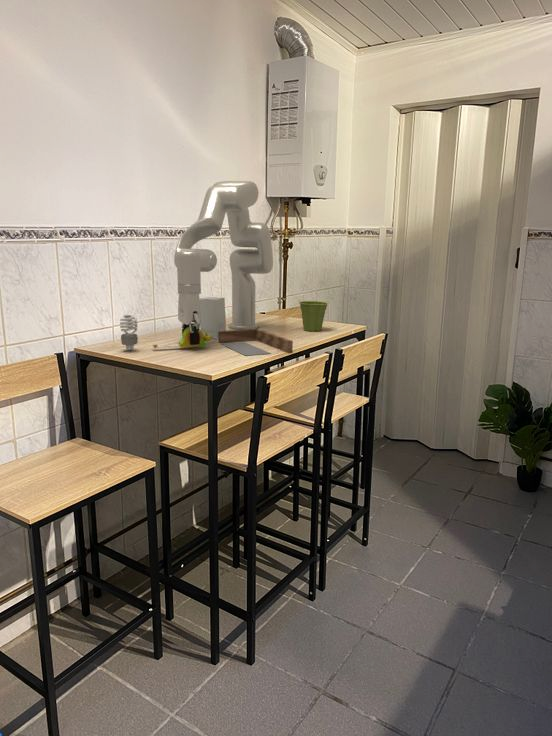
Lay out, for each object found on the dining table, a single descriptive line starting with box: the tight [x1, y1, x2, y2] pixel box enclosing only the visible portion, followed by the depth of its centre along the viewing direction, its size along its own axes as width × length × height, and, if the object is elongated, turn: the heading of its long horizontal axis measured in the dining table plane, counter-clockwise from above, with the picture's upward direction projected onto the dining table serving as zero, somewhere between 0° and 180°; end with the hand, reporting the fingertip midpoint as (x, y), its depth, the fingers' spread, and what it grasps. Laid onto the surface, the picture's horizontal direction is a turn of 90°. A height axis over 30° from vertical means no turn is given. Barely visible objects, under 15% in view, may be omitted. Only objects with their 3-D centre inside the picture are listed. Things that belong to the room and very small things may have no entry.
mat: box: [220, 341, 272, 357], centre depth 196 cm, size 21×9×1 cm, turn 28°
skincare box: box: [199, 296, 227, 340], centre depth 214 cm, size 8×6×15 cm
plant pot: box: [298, 300, 329, 332], centre depth 233 cm, size 12×12×11 cm
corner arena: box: [217, 328, 294, 354], centre depth 198 cm, size 26×16×4 cm, turn 28°
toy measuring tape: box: [152, 326, 212, 349], centre depth 193 cm, size 6×19×7 cm, turn 108°
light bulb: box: [119, 314, 139, 352], centre depth 188 cm, size 6×6×12 cm
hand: (190, 341), depth 194 cm, fingers closed on toy measuring tape, 6 cm apart
